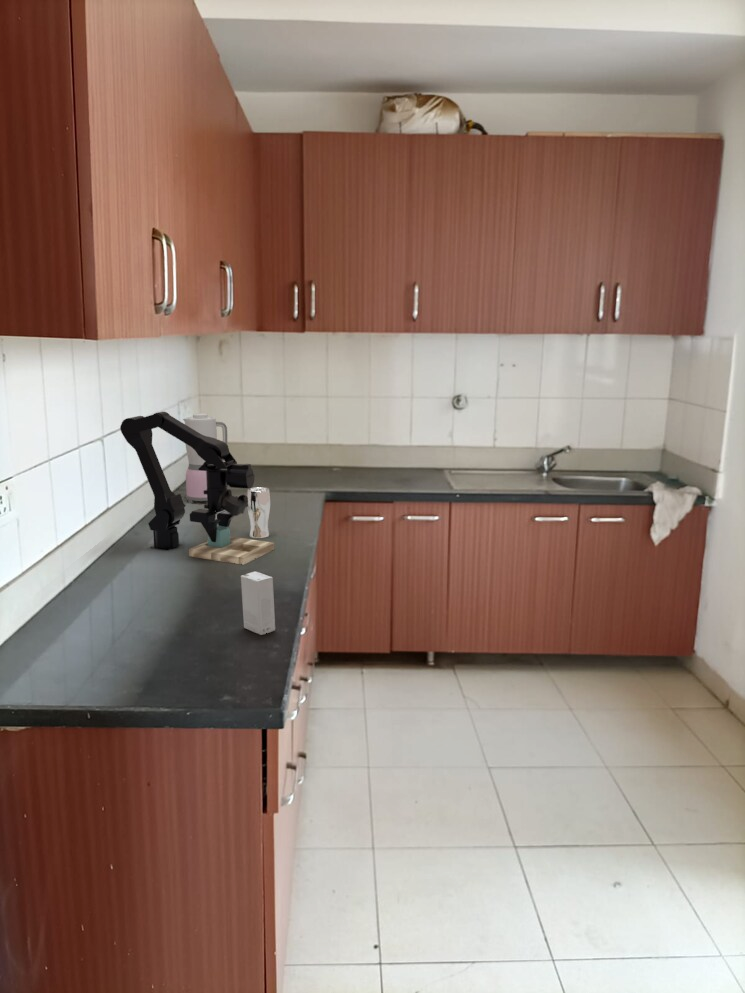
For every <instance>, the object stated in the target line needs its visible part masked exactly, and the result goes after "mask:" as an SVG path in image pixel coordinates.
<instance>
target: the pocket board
mask: <svg viewBox="0 0 745 993" xmlns="http://www.w3.org/2000/svg"><path fill="white" fill-rule="evenodd" d="M272 550H273V551H274V550H275V542H271V541H264V540H259V539H258V540H257V539H249V538H244V537H237V536H231V535H230V544H229V545H227V546H225V547H223V548H219V547H212V546H208V540H207V541H206V542H203V543H200V544H198V545H195V546H193V547H191V548H189V549H188V556H189V557H193V558H198V559H204V560H209V561H216V562H224V563H228V562H229V564H234V563H235V565H241V564H242V566H244V565H246V564H248V563H250V562H253V561H254V560H256V559H258V558H260V557H262V556H265V555H266V554H268V553H271V552H273V551H272ZM255 558H256V559H255Z"/></svg>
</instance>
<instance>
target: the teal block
mask: <svg viewBox="0 0 745 993" xmlns="http://www.w3.org/2000/svg"><path fill="white" fill-rule="evenodd" d="M230 530H231V528H230V526H229V527H225V526H219V525H218V524H217V534H216V542H212V541H211V539H210V537H209V535H208V534H207V533H206V534H207V535H206V536H207V541H208V546H212V547H219V548H223V547H225V546H227V545H229V544H230V536H231V531H230Z"/></svg>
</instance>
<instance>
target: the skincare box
mask: <svg viewBox="0 0 745 993" xmlns="http://www.w3.org/2000/svg"><path fill="white" fill-rule="evenodd" d="M273 578H274V577H272V576H271V575H270V576H269V575H267V574H264V573H261V572H259V571H255V570H254V571H251V572H248V573H245V574H242V575H240V584H241V601H242V615H243V616H242V617H243V627H244V629H247V630H248V631H250V632H253V633H256V634H257V635H260V636H262V635H266V633H267V634H270V633H272V632H275V631H276V617H275V616H276V615H275V602H274V601H275V600H274V598H275V597H274V594H275V593H274V579H273Z"/></svg>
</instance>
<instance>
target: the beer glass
mask: <svg viewBox="0 0 745 993" xmlns="http://www.w3.org/2000/svg"><path fill="white" fill-rule="evenodd" d="M246 496H247V497H248V507H247V512H248V513H247V514H248V517H249V518H248V519H249V522H250V523H249V524H250V530H249V531H250V532H249V537H250V538H253V539H262V538H263V539H265V538H268V537H269V536H270V532H269V519H270V518H269V517H270V511H271V496H270V488H268V487H265V486H264V487H262V486H261V487H259V486H257V487H254V486H253V487H252V488H251V489H247V495H246Z"/></svg>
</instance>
